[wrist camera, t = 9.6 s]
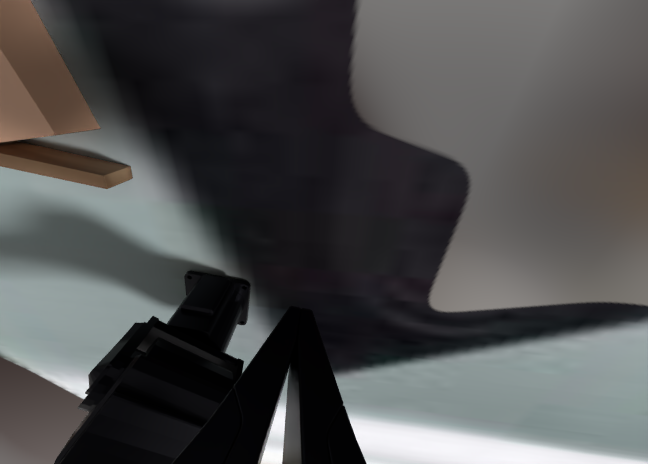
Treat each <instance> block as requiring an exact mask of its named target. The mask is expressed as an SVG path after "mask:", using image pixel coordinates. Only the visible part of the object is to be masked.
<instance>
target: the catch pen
mask: <svg viewBox="0 0 648 464" xmlns="http://www.w3.org/2000/svg"><path fill="white" fill-rule="evenodd" d="M0 166H2V167H7V168H11V169H16V170H21V171H25V172H30V173H35V174H39V175H44V176H49V177H53V178H58V179H63V180H67V181H72V182H77V183H81V184H86V185H91V186H95V187H100V188H105V189H108V188H111V187H113V186H115V185H118V184H120V183H123V182H125V181H128V180H130V179H132V178H133V177H132V172H131V167H130V166H127V165H122V164H118V163H113V162H109V161H104V160H100V159H95V158H91V157H86V156H82V155H77V154H73V153H68V152H64V151H60V150H55V149H51V148H46V147H42V146H37V145H33V144H28V143H24V142H19V141H8V142H0Z"/></svg>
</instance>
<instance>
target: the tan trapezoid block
mask: <svg viewBox="0 0 648 464" xmlns="http://www.w3.org/2000/svg"><path fill="white" fill-rule="evenodd" d="M95 129H101V128H100V127H99V125H98V123H97V121H96V119H95V117H94V116H93V114H92V112H91V110H90V108H89V106H88V105H87V103H86V101H85V99H84V97H83V96H82V94H81V92H80V90H79V88H78V86H77V85H76V83H75V81H74V79H73V77H72V75H71V74H70V72H69V70H68V68H67V66H66V64H65V63H64V61H63V59H62V57H61V55H60V54H59V52H58V50H57V48H56V46H55V44H54V43H53V41H52V39H51V37H50V35H49V33H48V32H47V30H46V28H45V26H44V24H43V23H42V21H41V19H40V17H39V15H38V13H37V12H36V10H35V8H34V6H33V4H32V2H31V1H30V0H0V142H8V141H15V140H23V139H30V138H38V137H46V136H53V135H61V134H68V133H75V132H81V131H88V130H95Z"/></svg>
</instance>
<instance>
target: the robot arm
mask: <svg viewBox="0 0 648 464" xmlns="http://www.w3.org/2000/svg"><path fill="white" fill-rule="evenodd" d="M185 286H186V295H187V297H186V298H185V299H184V301H183V302H182V303H181V305H180V306H179V308H178V309H177V310H176V312H175V313H174V314H173V316H172V317H171V319H170V320H169V321H168V323H167V324H165V323H163V322H161V321H159V319H158V318H156V317H154V316H152V317H151V319H150V320H149V321H148V322H147V323H145V322H144V323H135V324H134V325H133V326H132V327H131V328H130V330H129V331H128V332H127V333H126V334H125V335H124V336H123V338H122V339H121V340H120V341H119V342H118V343H117V344H116V345H115V346H114V347H113V348H112V350H111V351H110V352H109V353H108V354H107V355H106V356H105V357H104V358H103V359H102V360H101V361H100V362H99V363H98V364H97V366H96V367H95V368H94V369H93V370H92V371H91V372H90V374H89V389H88V390H87V391H86V392H85V394H88V396H87V397H86V398H85V399H84V401H83V402H82V403H81V404H80V406H79V407H78V409H81V410H84V411H88V412H89V413H88V415H87V416H86V417H85V418H84V420H83V421H82V422H81V424H80V425H79V426H78V427H77V429H76V430H75V431H74V433H73V434H72V436H71V437H70V439H69V440H68V442H67V443H66V445H65V446H64V448H63V449H62V451H61V453H60V454H59V456H58V457H57V459H56V461H55V463H54V464H260V463H261V460H262V456H263V453H264V450H265V446H266V443H267V440H268V436H269V433H270V430H271V426H272V423H273V420H274V416H275V413H276V410H277V406H278V403H279V400H280V396H281V393H282V390H283V386H284V383H285V380H286V376H287V373H288V369H289V375H288V389H287V404H286V419H285V433H284V448H283V462H282V464H366V461H365V459H364V457H363V454H362V452H361V449H360V447H359V445H358V442H357V440H356V437H355V435H354V432H353V429H352V426H351V424H350V421H349V418H348V415H347V412H346V409H345V406H343V401H342V398H341V395H340V392H339V389H338V386H337V383H336V380H335V377H334V374H333V371H332V368H331V365H330V362H329V359H328V356H327V353H326V350H325V347H324V344H323V341H322V338H321V335H320V332H319V329H318V327H317V324H316V321H315V318H314V315H313V312H312V310H310V309H304V308H302V309H300V308H299V307H294V306H291V307H289V309H288V310H287V311H286V313H285V314H284V316H283V317H282V318H281V320H280V321H279V323H278V324H277V326H276V327H275V328H274V330H273V331H272V333H271V334H270V335H269V337H268V338H267V340H266V341H265V342H264V344H263V345H262V347H261V348H260V350H259V351H258V352H257V354H256V355H255V357H254V358H253V359H252V361H251V362H250V364H249V365H248V366H247V368H246V369H245V371H244V372H243V374H242V370H243V364H244V361H243V360H241V359H239V358H238V359H236V358H234V357H232V356H230V355H228V354H226V353H225V352H226V349H227V347H228V345H229V342H230V340H231V337H232V335H233V333H234V330H235V328H236V326H237V324H239V325H245V324H246V323H247V320H248V309H249V297H250V283H248V282H246V281H241V280H235V279H230V278H225V277H220V276H215V275H209V274H204V273H199V272H194V271H188V272H187V273H186V274H185ZM245 286H246V287H245ZM289 365H290V366H289Z"/></svg>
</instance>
